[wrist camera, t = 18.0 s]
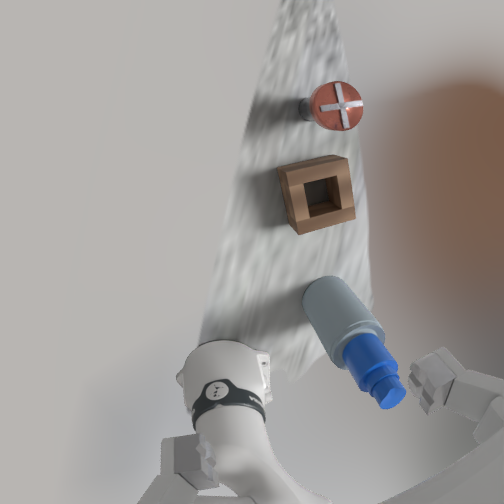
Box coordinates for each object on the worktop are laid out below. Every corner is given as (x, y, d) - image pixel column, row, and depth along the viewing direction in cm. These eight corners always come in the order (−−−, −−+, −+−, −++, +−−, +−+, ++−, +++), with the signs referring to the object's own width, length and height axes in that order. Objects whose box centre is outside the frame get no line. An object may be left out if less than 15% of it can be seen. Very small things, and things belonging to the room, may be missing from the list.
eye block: (341, 209, 47) (355, 218, 43) (289, 224, 47) (298, 235, 42) (332, 154, 44) (347, 158, 39) (276, 167, 43) (285, 172, 39)
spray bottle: (347, 311, 56) (415, 406, 33) (303, 323, 55) (357, 430, 32) (347, 270, 52) (430, 363, 30) (300, 282, 51) (365, 390, 29)
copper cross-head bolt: (324, 87, 39) (359, 78, 29) (333, 125, 42) (369, 127, 32) (286, 93, 39) (312, 83, 29) (295, 132, 42) (324, 134, 32)
